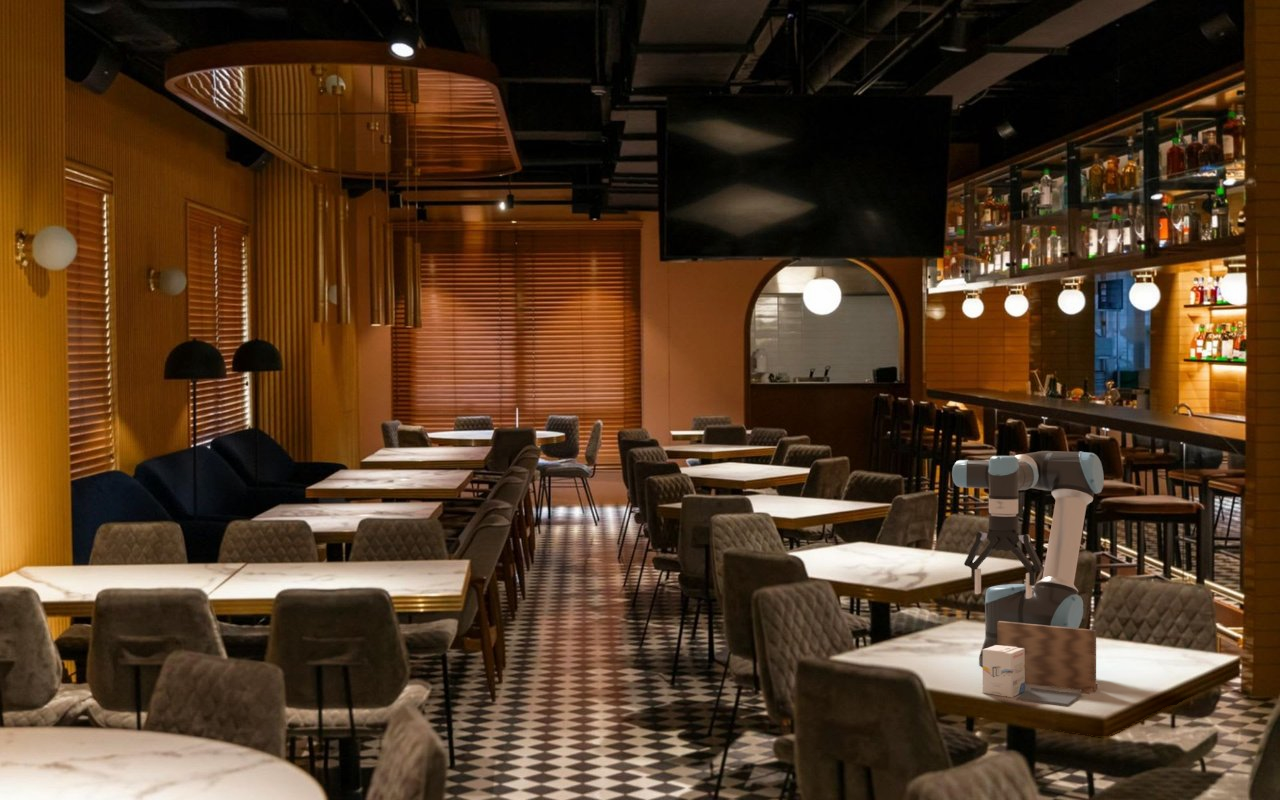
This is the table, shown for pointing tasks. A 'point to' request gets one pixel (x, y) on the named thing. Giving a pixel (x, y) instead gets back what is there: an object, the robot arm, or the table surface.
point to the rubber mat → (1049, 696)
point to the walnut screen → (1054, 654)
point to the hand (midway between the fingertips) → (1003, 595)
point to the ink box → (1003, 670)
